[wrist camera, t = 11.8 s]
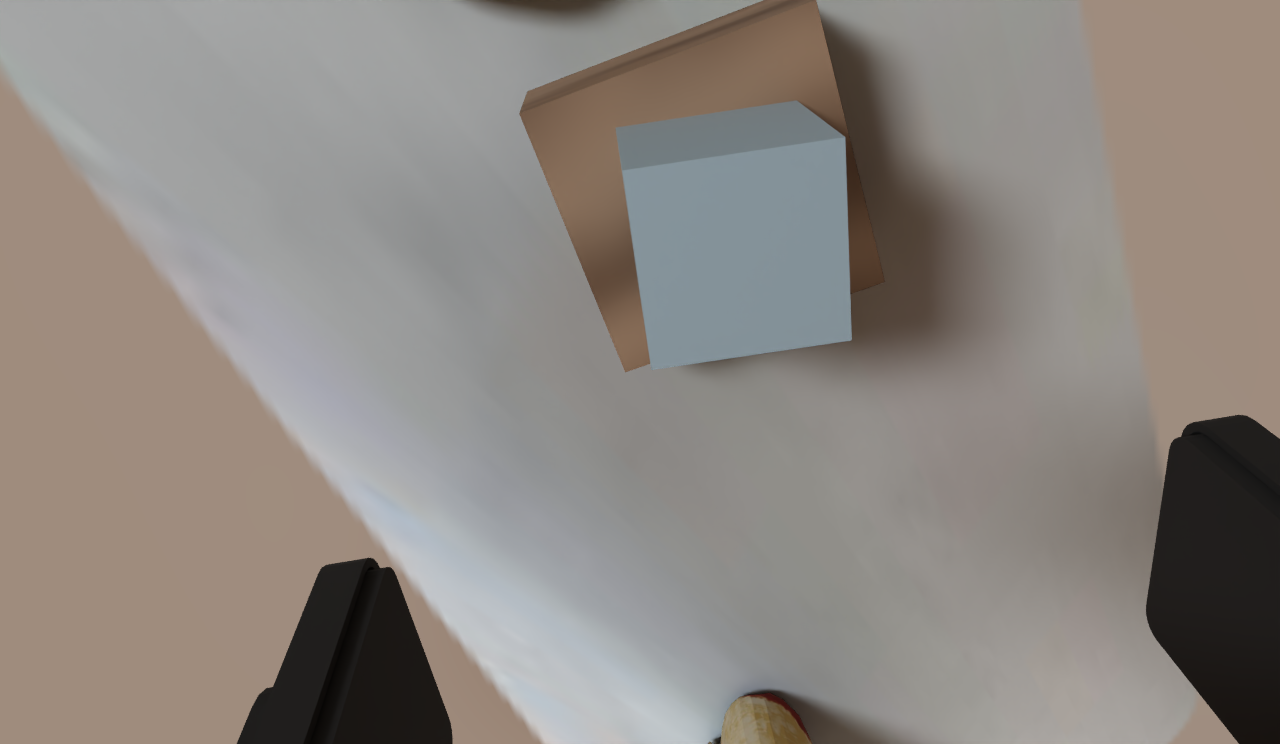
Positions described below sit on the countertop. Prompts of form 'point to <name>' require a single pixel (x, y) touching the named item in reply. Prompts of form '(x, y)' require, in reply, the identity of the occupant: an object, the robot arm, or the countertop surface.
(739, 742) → the food model
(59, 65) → the countertop surface
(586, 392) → the countertop surface
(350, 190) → the countertop surface
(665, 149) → the slate cube
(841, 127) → the walnut block
